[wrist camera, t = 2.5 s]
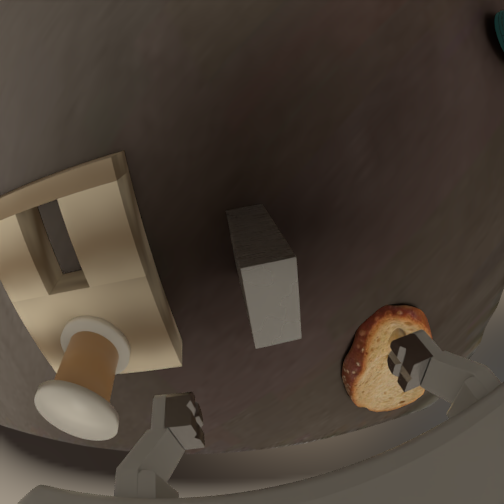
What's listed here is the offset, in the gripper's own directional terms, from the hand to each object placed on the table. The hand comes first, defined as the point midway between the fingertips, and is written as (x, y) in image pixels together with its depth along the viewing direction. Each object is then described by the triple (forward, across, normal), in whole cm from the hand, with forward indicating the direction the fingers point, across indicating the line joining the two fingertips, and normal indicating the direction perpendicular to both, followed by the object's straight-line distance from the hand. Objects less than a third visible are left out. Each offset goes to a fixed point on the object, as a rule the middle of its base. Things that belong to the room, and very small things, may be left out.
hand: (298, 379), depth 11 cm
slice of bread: (+13, -15, +19) cm, 28 cm away
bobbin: (+9, +13, +4) cm, 16 cm away
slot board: (+12, +13, -1) cm, 18 cm away
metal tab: (+12, 0, -1) cm, 12 cm away
